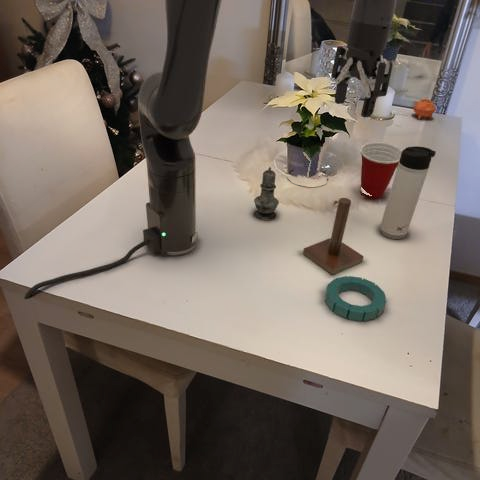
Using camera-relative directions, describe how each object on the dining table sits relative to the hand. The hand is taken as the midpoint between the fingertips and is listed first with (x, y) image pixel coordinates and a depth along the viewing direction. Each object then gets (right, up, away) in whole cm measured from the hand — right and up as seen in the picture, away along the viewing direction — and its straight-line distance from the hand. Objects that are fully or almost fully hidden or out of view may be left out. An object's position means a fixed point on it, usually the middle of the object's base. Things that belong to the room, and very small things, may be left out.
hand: (352, 109), depth 99 cm
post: (-4, -30, +3) cm, 31 cm away
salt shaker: (-17, -19, +16) cm, 30 cm away
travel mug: (+13, -23, +13) cm, 29 cm away
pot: (+43, +31, +76) cm, 93 cm away
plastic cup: (+11, -11, +27) cm, 31 cm away
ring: (-1, -40, -8) cm, 41 cm away
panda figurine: (-5, -5, +32) cm, 33 cm away
